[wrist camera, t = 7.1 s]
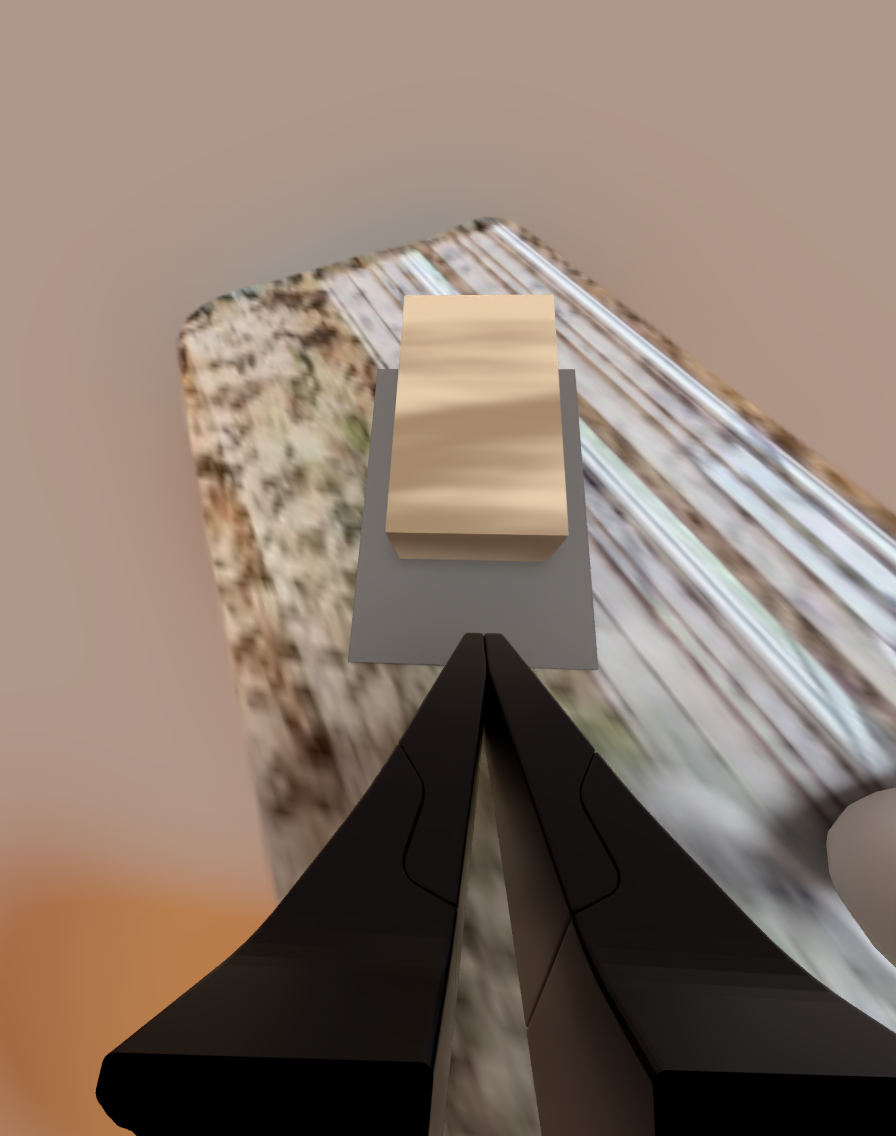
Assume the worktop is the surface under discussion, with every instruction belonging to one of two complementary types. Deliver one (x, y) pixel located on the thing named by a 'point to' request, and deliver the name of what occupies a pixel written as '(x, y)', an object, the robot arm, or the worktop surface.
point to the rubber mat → (471, 574)
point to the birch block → (477, 431)
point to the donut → (867, 866)
